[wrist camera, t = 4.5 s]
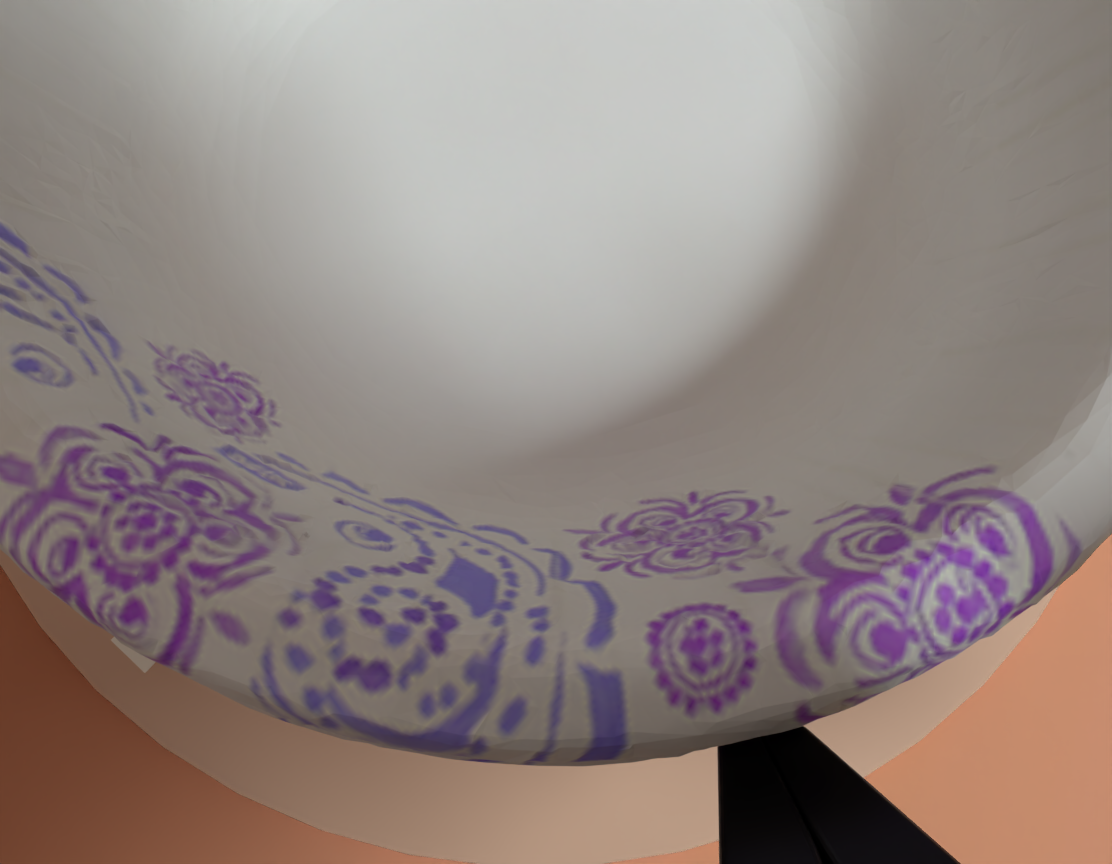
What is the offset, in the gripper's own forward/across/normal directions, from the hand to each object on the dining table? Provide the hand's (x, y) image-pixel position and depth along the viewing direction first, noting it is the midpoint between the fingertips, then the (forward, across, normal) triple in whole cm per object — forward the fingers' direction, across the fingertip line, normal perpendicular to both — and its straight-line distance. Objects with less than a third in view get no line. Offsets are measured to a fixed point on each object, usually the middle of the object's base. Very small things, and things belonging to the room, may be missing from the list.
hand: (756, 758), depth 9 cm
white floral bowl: (+10, 0, -1) cm, 10 cm away
